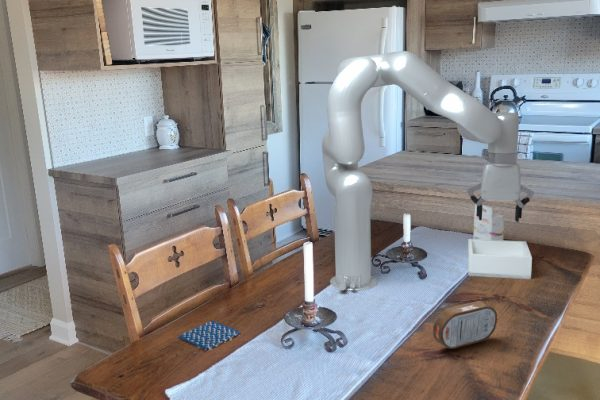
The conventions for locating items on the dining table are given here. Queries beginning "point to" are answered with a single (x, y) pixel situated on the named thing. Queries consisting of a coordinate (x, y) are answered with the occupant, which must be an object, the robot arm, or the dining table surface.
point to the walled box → (499, 259)
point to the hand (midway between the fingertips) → (498, 219)
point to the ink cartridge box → (488, 225)
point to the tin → (465, 324)
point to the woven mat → (209, 335)
